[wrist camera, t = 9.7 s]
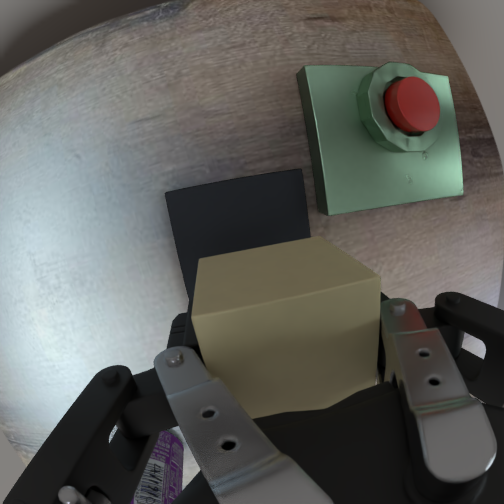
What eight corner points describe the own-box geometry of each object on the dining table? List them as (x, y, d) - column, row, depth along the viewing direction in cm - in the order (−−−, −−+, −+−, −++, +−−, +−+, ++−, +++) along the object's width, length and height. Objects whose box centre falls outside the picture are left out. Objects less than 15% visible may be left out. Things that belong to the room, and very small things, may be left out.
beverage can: (109, 427, 26) (87, 513, 15) (160, 414, 26) (147, 512, 15) (146, 461, 28) (137, 541, 17) (195, 450, 28) (197, 538, 17)
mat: (299, 168, 22) (301, 168, 21) (314, 291, 25) (316, 294, 24) (165, 192, 21) (164, 192, 21) (194, 315, 24) (194, 319, 23)
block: (320, 235, 12) (381, 275, 7) (327, 337, 14) (373, 406, 9) (198, 258, 12) (190, 316, 7) (223, 360, 13) (231, 442, 8)
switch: (420, 83, 18) (434, 79, 16) (429, 132, 19) (444, 131, 17) (379, 79, 17) (392, 74, 16) (389, 133, 18) (403, 131, 17)
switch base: (433, 80, 21) (460, 72, 17) (448, 192, 24) (477, 197, 20) (295, 73, 20) (312, 56, 16) (318, 212, 23) (338, 220, 19)
